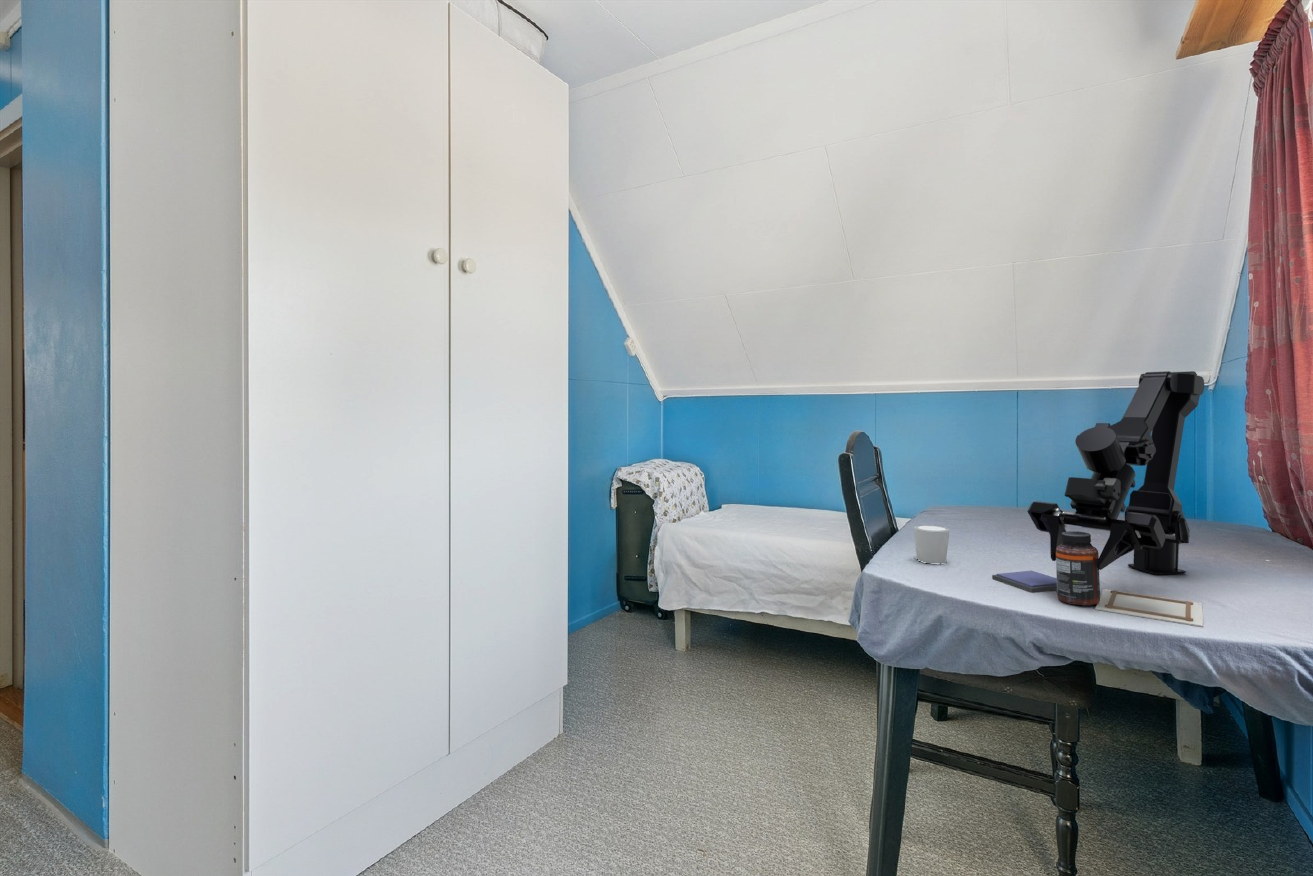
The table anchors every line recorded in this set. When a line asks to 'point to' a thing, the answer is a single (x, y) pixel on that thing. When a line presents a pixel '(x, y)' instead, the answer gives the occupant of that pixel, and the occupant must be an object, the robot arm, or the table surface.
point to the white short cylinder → (931, 543)
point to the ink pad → (1028, 580)
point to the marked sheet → (1151, 607)
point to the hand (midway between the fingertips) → (1075, 563)
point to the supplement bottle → (1077, 569)
